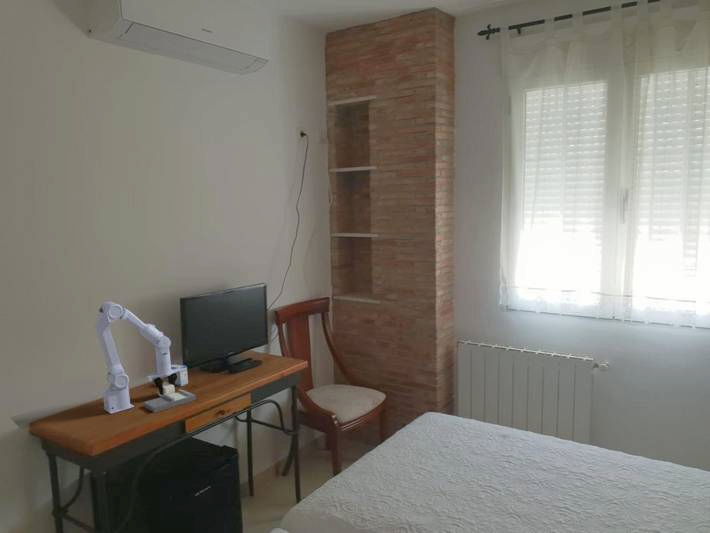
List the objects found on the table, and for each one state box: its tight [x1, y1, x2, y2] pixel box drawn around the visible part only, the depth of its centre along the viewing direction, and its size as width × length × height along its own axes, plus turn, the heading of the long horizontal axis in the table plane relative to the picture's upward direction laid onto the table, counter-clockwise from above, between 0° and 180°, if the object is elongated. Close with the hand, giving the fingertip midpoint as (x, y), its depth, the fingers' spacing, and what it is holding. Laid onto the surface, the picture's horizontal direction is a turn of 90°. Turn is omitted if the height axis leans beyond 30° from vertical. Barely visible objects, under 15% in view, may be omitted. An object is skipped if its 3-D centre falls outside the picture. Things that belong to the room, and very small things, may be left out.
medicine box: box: [171, 363, 189, 387], centre depth 250 cm, size 8×4×9 cm, turn 62°
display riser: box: [143, 388, 197, 413], centre depth 225 cm, size 18×10×3 cm, turn 134°
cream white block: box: [157, 381, 176, 397], centre depth 234 cm, size 4×8×5 cm, turn 44°
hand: (166, 392), depth 234 cm, fingers closed on cream white block, 4 cm apart
